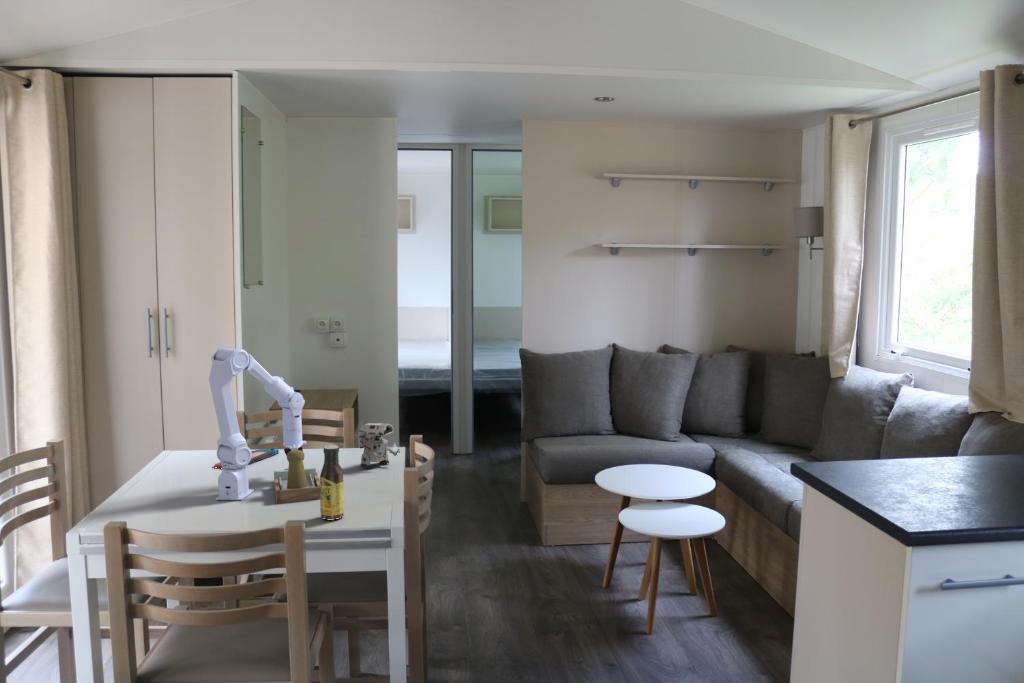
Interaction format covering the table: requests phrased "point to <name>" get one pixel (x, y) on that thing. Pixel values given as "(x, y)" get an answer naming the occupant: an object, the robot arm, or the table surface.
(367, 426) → the figurine
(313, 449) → the table surface
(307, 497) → the caddy
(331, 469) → the sauce bottle
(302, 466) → the cork
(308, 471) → the drawer
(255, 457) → the gaming console
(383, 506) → the table surface
